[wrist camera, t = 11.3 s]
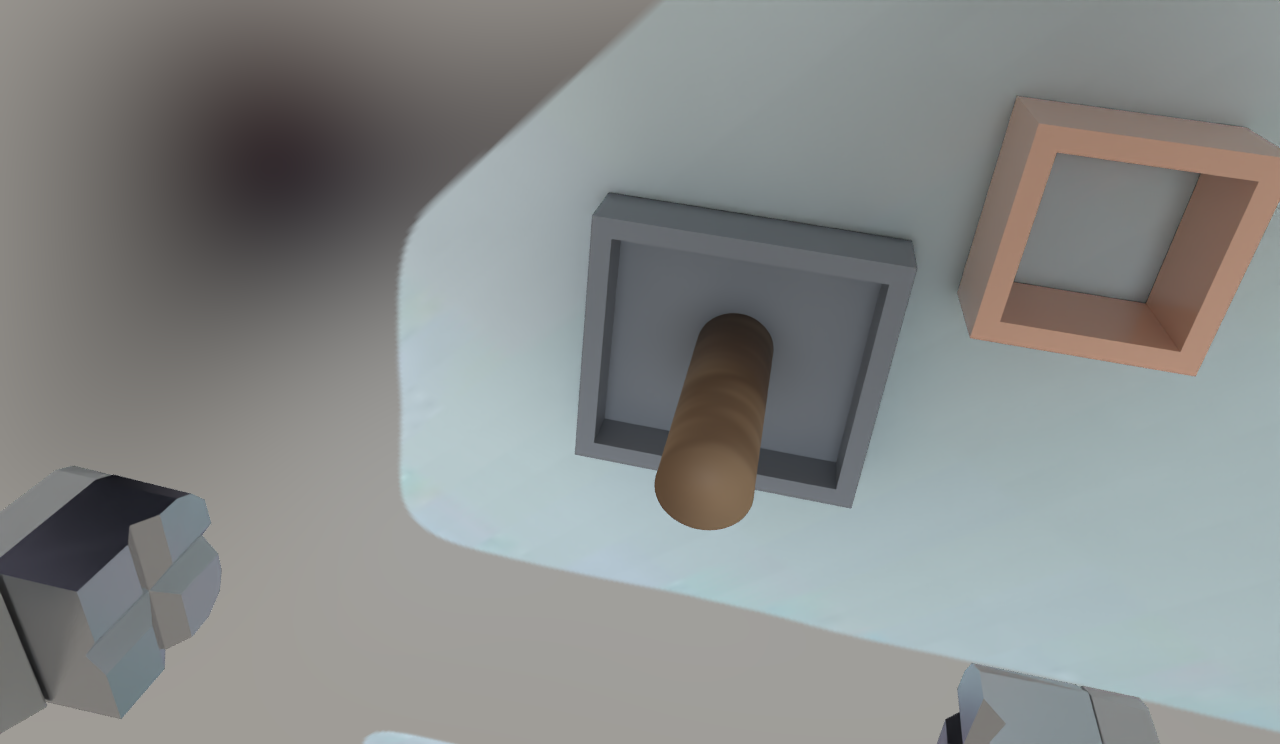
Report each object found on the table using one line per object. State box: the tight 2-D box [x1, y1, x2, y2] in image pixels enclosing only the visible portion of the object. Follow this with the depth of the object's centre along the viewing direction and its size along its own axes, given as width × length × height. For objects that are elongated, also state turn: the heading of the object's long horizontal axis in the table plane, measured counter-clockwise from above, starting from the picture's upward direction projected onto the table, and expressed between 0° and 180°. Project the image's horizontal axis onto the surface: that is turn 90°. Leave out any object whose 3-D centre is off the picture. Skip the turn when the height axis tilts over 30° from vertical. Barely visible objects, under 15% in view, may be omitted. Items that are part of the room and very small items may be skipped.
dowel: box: [655, 313, 774, 530], centre depth 33 cm, size 3×3×10 cm
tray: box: [575, 193, 917, 508], centre depth 37 cm, size 12×11×3 cm
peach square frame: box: [957, 96, 1280, 376], centre depth 31 cm, size 8×8×4 cm
